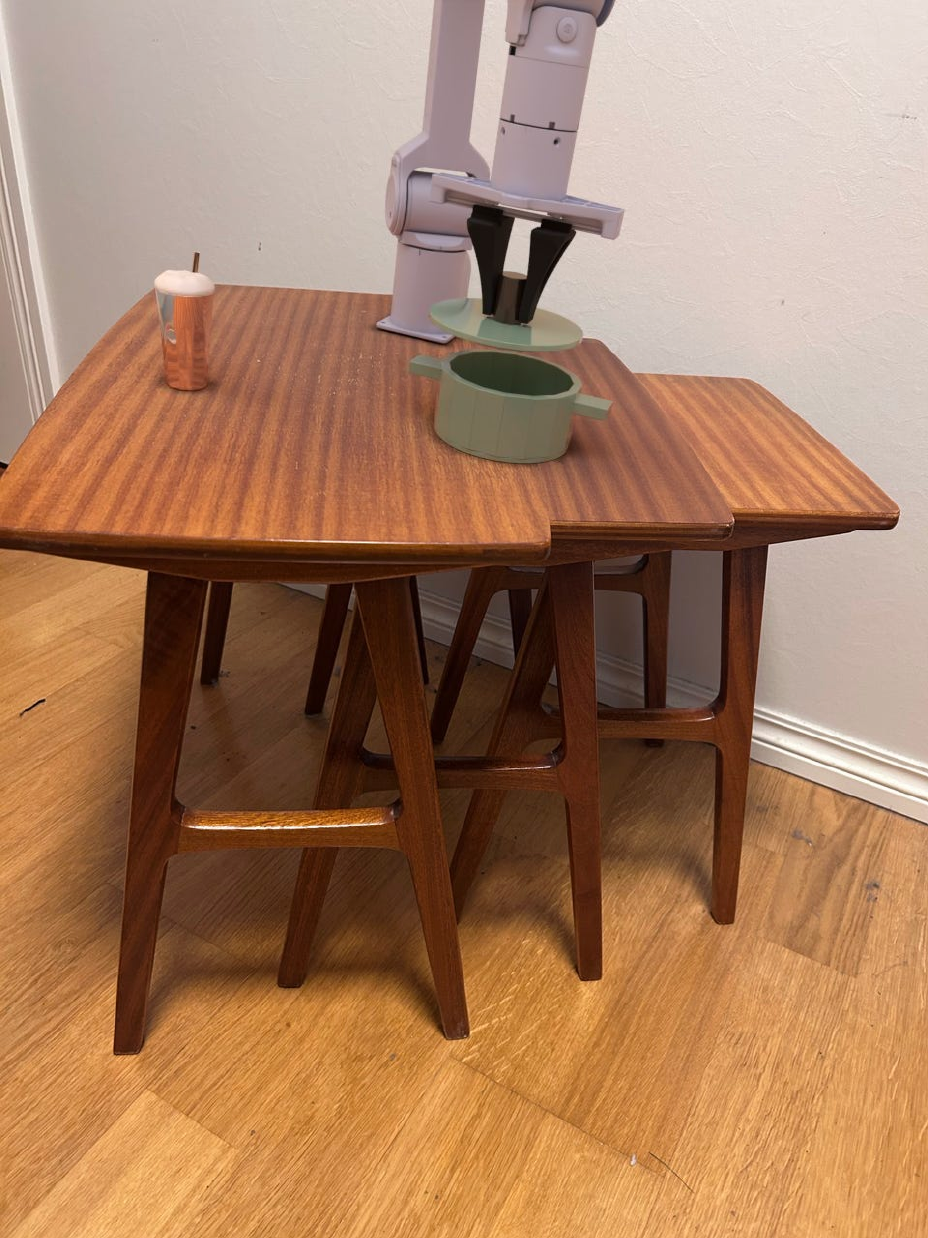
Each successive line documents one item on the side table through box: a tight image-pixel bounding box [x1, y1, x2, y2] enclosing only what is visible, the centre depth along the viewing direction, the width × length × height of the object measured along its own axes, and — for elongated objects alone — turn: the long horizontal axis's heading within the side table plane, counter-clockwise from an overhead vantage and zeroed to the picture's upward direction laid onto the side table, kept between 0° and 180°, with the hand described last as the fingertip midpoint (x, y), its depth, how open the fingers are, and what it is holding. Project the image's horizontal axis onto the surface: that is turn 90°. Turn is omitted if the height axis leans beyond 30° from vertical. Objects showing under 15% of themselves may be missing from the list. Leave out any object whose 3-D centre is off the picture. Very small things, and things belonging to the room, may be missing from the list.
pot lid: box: [429, 270, 584, 353], centre depth 72 cm, size 12×12×5 cm
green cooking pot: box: [407, 348, 613, 464], centre depth 76 cm, size 11×17×5 cm
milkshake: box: [153, 251, 216, 391], centre depth 75 cm, size 4×5×10 cm
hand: (507, 316), depth 73 cm, fingers closed on pot lid, 2 cm apart
